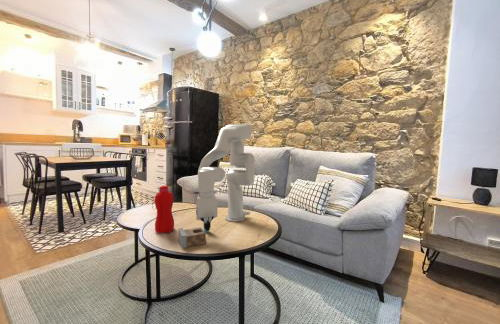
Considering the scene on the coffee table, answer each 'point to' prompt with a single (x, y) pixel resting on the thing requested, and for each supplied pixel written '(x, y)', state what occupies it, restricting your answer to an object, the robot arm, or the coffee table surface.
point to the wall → (182, 238)
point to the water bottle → (164, 210)
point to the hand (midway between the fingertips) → (207, 229)
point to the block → (195, 236)
